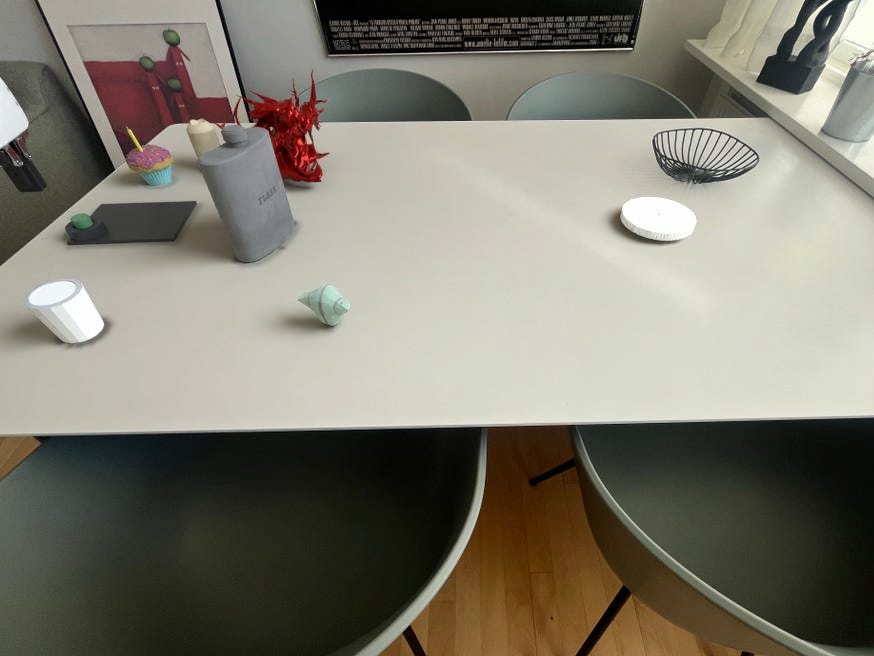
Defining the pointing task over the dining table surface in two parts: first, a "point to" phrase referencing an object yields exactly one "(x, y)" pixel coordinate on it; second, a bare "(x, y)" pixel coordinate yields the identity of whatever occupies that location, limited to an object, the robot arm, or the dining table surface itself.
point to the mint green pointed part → (326, 304)
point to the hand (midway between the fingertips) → (34, 189)
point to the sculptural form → (289, 133)
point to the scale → (133, 223)
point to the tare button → (81, 221)
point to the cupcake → (150, 162)
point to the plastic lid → (658, 218)
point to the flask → (248, 192)
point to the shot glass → (65, 310)
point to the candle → (202, 136)
